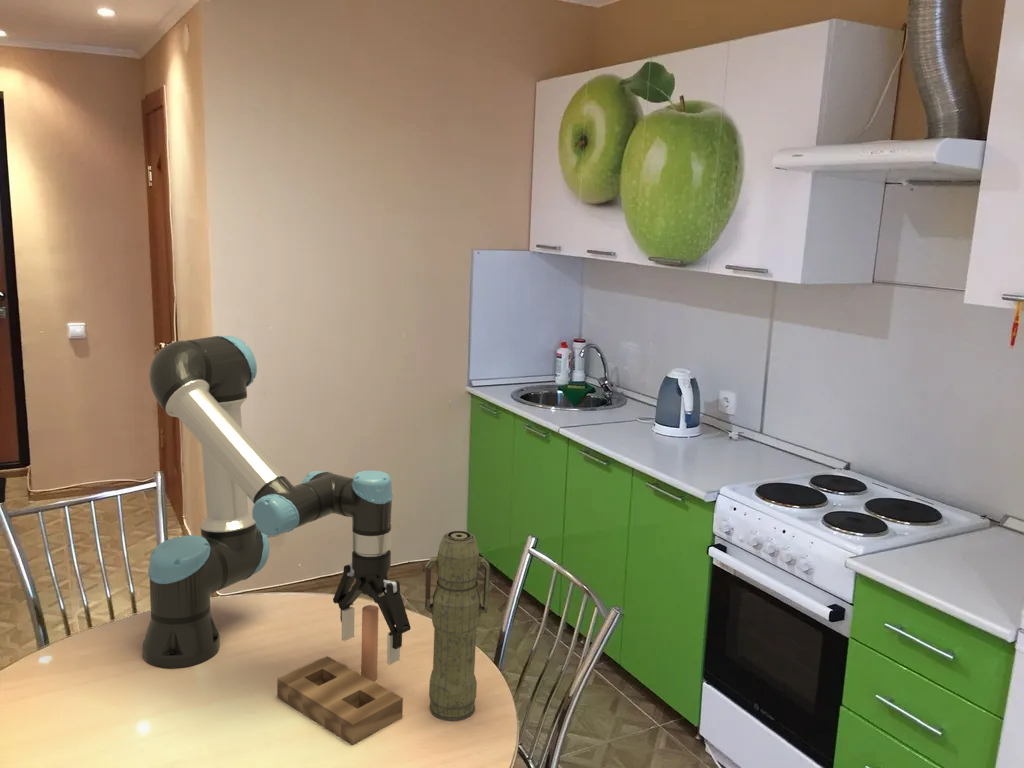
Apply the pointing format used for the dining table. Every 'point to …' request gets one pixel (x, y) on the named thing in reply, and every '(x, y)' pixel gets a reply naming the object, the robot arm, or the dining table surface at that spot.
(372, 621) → the peg
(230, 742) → the dining table surface
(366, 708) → the hole block
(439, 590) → the thermos
